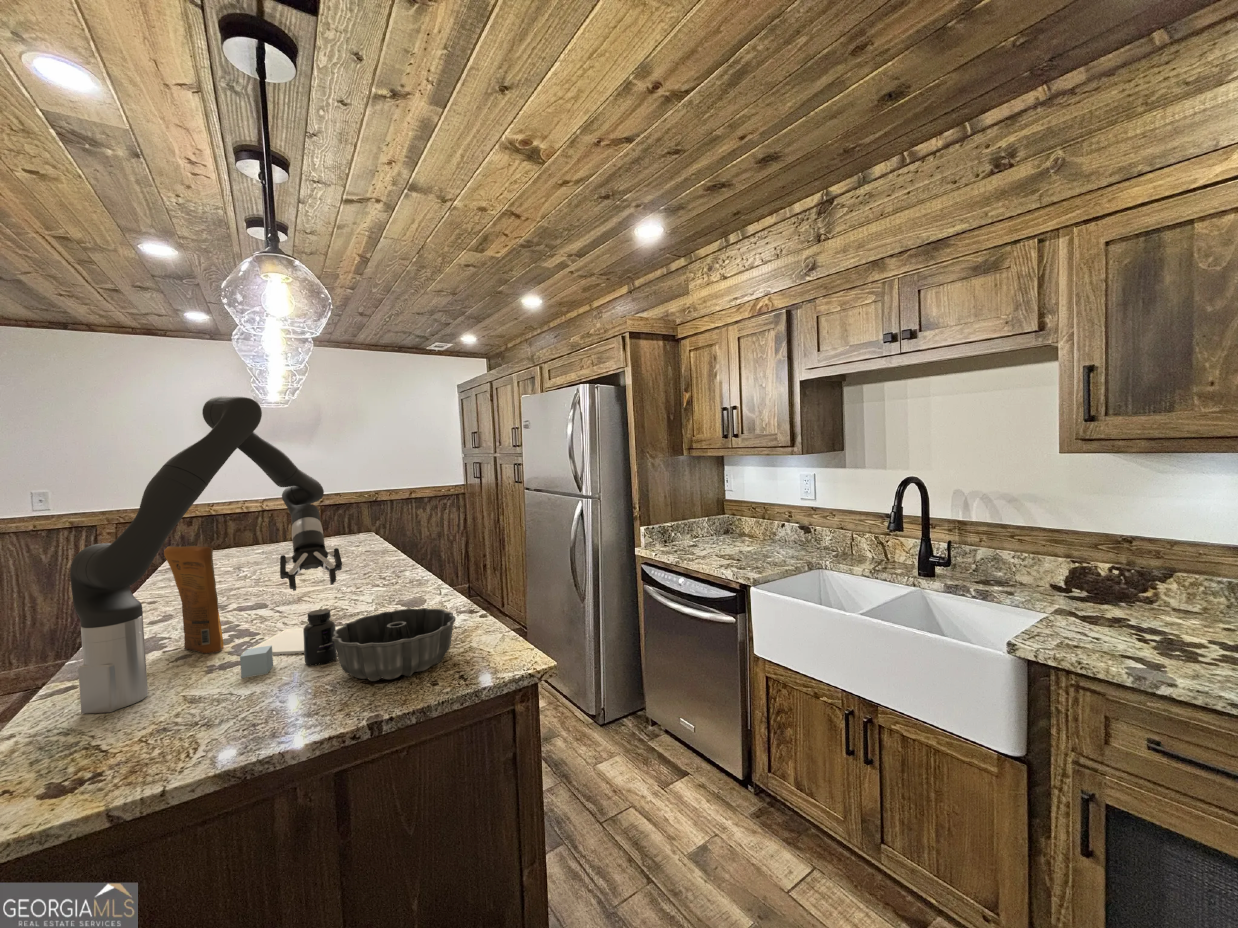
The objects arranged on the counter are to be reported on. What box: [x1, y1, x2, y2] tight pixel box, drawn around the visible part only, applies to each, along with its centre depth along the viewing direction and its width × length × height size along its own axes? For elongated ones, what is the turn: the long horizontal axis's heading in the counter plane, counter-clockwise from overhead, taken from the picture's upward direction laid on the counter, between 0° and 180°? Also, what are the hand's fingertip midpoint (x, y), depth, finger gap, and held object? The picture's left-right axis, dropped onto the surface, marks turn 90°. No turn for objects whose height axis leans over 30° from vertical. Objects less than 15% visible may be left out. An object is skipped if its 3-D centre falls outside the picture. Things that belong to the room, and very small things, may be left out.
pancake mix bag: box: [163, 545, 225, 654], centre depth 137 cm, size 7×19×28 cm, turn 63°
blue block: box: [239, 645, 274, 679], centre depth 120 cm, size 5×5×5 cm
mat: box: [240, 625, 344, 656], centre depth 139 cm, size 18×18×1 cm
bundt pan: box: [332, 607, 456, 682], centre depth 120 cm, size 26×26×10 cm
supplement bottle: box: [303, 608, 338, 666], centre depth 125 cm, size 7×7×12 cm
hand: (313, 586), depth 135 cm, fingers open, 8 cm apart
